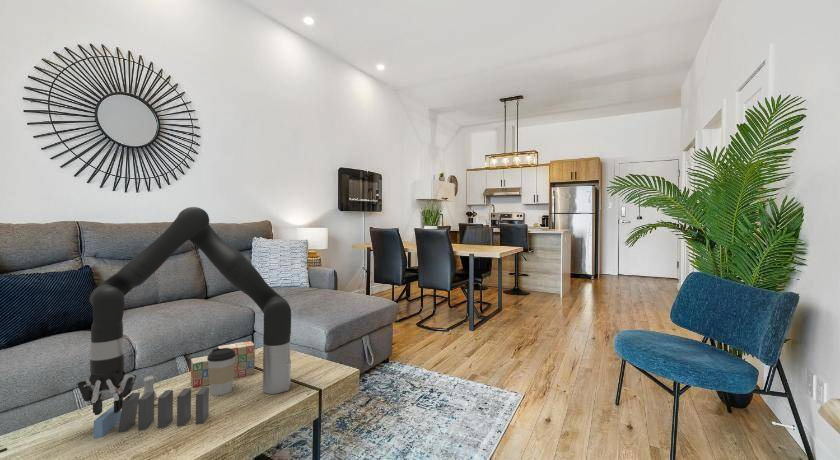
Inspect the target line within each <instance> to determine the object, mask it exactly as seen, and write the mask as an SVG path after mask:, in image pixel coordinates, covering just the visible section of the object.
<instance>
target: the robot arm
mask: <svg viewBox="0 0 840 460" xmlns="http://www.w3.org/2000/svg"><path fill="white" fill-rule="evenodd" d="M188 241H189V242H191V243H192V244H193V245H195V246H196V247H197V248H198V249H199V250H201V252H202V253H203V254H204V255H205V257H207V259H208V260H209V261H210V262H211V263H212V264H213V266H214V267H215V269H217V271H219V273H220V274H221V275H222V276H224V278H225V279H226V280H227V281H228V282H230V284H231V285H233V286H234V287H235V288H236V289H238V290H239V291H241V292H242V293H243V294H246V295H247V296H248V297H249V298H251V300H252V301H253V302H254V303H255V304H256V305H257V306H258V308H259V309H260V310H261V312H262V314H263V337H262V339H263V342H262V343H263V344H262V345H263V347H262V348H263V349H262V352H263V355H262V357H263V358H262V391H263V393H265V394H267V395H269V394H271V395H273V394H274V395H275V394H280V393H283V392H287V391H289V390H290V387H291V383H292V382H291V377H292V376H291V374H292V371H291V370H292V369H291V368H292V365H291V362H292V361H291V334H292V333H291V332H292V308H291V306H290V304H289V302H288V301H287V300H286V299H285V297H282V296H281V295H280V294H278V293H277V291H276V290H274V289H273V288H272V287H271V286H270V285H269V284H268V283H267V282H266V281H265V279H264V278H263V276H262V275H261V274H260V273H259V272H258V270H257V268H255V267H254V265H253V264H252V263H251V262H250V261H249V260H248V259H247V257H245V255H244V254H243V253H242V252H241V251H239V250H237V249H236V248H235V247H234V246H233V245H230V244H229V243H227V242H226V241H225V240H223V239H222V238H221V237H220V236H219V234H217V232H216V231H215V230H214V229H213V228H212V227H211V226H210V217H209V214H208V212H207V211H206V210H204V209H203V208H201V207H198V206H191V207H186V208H184V209H182V210H181V211H180V212H179V213H178V215H177V217H176V218H175V220H174V221H173V222H172V223H171V224H170V225H169V226H168V227H167V229H166V230H165V231H164V232H162V234H160V235H159V237H157V238H156V239H155V240H154V241H152V242H151V243H150V244H148V246H146V247H145V248H144V249H143V250H142V251H140V252H139V253H138V254H137V255H136V256H134V257H133V258H131V260H130V261H128V262H127V263H126V264H125V265H123V267H122V268H121V269H120V270H118V271H117V272H116V273H114V274H113V275H112V276H109V278H107V279H106V280H104V281H103V282H102V283H100V284H99V285H98V286H96V287H95V288H94V289H93V291H91V293H90V294H89V295H90V296H89V303H90V304H91V306H92V319H93V320H92V324H91V326H90V327H91V328H90V347H89V372H90V375H89V378H84V379H82V380H80V381H79V382H78V383H76V384H77V387H78V390H79V392H80V394H81V396H82V398H83V401H84V402H91V403H92V413H93V414H94V416H100V414H103V413H102V412H103V399H102V397H103V393H104V391H107V390H108V391H109V392H110V394H111V395H112V397H113V399H114V400H113V405H114V413H118V412H119V411H120V410H122V404H123V400H124V399H125V398H127V397H128V396H129V395H130V394H131V393H132V391H133V387H134V384H135V381H136V378H137V375H136V374H132V375H131V374H126V372H125V341H124V323H123V318H124V313H125V296H126V295H127V294H128V293H129V292H131V291H132V290H133V289H134V288H137V287H139V286H141V285H142V284H144V283H145V282H146V281H147V280H148V279H149V278H150V277H151V276H152V275H154V274H155V273H156V272H157V271H158V269H160V268H161V267H162V265H164V263H165V262H167V260H168V259H169V258H170V257H171V256H172V255H173V254H174V253H175V252H176V251H177V250H178V249H180V247H182V246H183V244H186V242H188ZM123 380H124V384H125V385H124V388H123V384H122V382H123ZM91 385H92V386H93V387H94V389H92V386H91Z"/></svg>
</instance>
